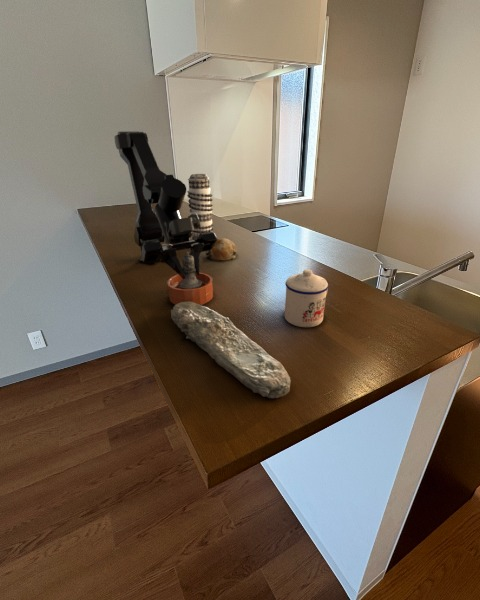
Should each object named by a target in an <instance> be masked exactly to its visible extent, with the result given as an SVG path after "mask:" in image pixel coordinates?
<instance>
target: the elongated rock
mask: <svg viewBox="0 0 480 600" xmlns="http://www.w3.org/2000/svg"><path fill="white" fill-rule="evenodd" d="M170 316H171V317H170V319H171V320H172V321H173V323H174V324H175V325H176V326H177V328H178V329H180V331H181V333H184V334H185V336H186V337H185V339H186V340H191V342H193V343H195V344H196V345H197V346H198V347H199V348H200V349H201V350H203V351H204V352H206V353H207V354H208V355H209V356H210V357H211V359H213V360H214V361H215V363H217V364H218V366H220V368H221V367H222V368H223V369H224V370H225V371H226V372H228V373H230V375H232V376H233V377H235V378H236V380H238V381H239V382H240V383H241V384H242V385H243V386H244V387H246V388H248V389H250V390H251V391H252V392H253V393H254V394H255V393H256V394H259V395H261V396H262V398H265V397H266V398H269V399H278V398H283V397H284V396H286V395H287V394H289V392H290V390H291V381H292V380H291V377H290V375H289V373H288V372H287V370H286V368H285V366H283V364H282V363H281V362H280V361H279V360H277V359H276V358H274V357H273V356H271V355H270V354H269V353H268V352H267V351H266V350H265V349H264V348H263V347H262V346H260V345H259V344H258V343H257V342H255V341H253V340H252V339H251V338H250V337H249V336H248V335H246V334H245V333H244V332H243V331H242V330H240V329H239V328H238V327H236V325H234V323H233V321H232V320H230V318H229V317H226V316H223V315H222V314H220V313H219V312H218V311H216V310H215V311H214V310H213V309H210V308H209V307H207V306H204V305H200V304H196V303H193V302H181V303H178V304H176V305H175V304H174V306H173V307H172V309H171V310H170Z"/></svg>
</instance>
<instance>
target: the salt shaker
mask: <svg viewBox="0 0 480 600" xmlns="http://www.w3.org/2000/svg"><path fill="white" fill-rule="evenodd" d="M189 254H190V252H188V251H186V253H185V255H184V256H182V258H181V263H182V269H183V271H184V274H185V279H183V281H181V282H180V283H179V284H178V285H179V287H180V289H195V288H200V287H201V285H202V282H201V281H200V280H198V279H196V276H195V271H196V268H195V267H194V258H193V256H191V255H189Z"/></svg>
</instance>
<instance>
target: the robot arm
mask: <svg viewBox="0 0 480 600" xmlns="http://www.w3.org/2000/svg"><path fill="white" fill-rule="evenodd" d="M114 144H115V148H116V150H118V153H119V157H120V158H121V159H122V160H123V161H124V163H125V164H126V165H127V168H128V173H129V177H130V181H131V186H132V190H133V196H134V199H135V204H136V208H137V216H136V218H135V222H134V223H135V224H134V225H135V227H134V233H133V239H134V243H135V244H136V245H137V246H138V247H140V252H141V253H140V254H141V258H139V259H138V262H141V263H145V264H149V265H154V264H156V263H159V262H160V263H164V264H166V265H167V266H168V267H169V268H171V269H172V270H173V271H174V272H175V273H176V275H179V276H180V277H181V278H182V279H185V274H184V271H183V266H182V265H181V262H180V260H179V258H178V255H177V251H182V250H183V251H184V250H189V255H191V256H193V258H194V267H195V268H196V271H195V273H196V274H197V276H199V274H200V273H201V271H200V269H201V268H200V255H201V254H202V253H204V252H205V253H206V251H210V250H212V249H213V247H214V245H215V243H216V242H217V240H218V239H219V238H218V237H217V235H216V233H215V232H214V231H212V232H206V233H200V234H199V236H198V239H195V240H192V239H190V238H192V233H193V232H192V231H195V228H198V227H200V221H199V218H198V216H197V214H192V215H191V214H190V215H188V216H187V217H181V214H180V211H179V210H181V209H182V207H183V203H184V200H185V196H186V194H187V185H186V184H185V183H183V181H182V180H180V179H178V178H177V177H174V175H173V174H166V173H165V172H164V171H162V170H161V169H160V166H159V165H158V161H157V160H156V158H155V156H154V153H153V152H152V148H151V146H150V144H149V138H148V134H147V133H146V132H144V131H135V130H134V131H133V130H132V131H131V130H128V131H126V130H125V131H117V134H116V135H114ZM153 204H156V205H155V206H154V210H153Z"/></svg>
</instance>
